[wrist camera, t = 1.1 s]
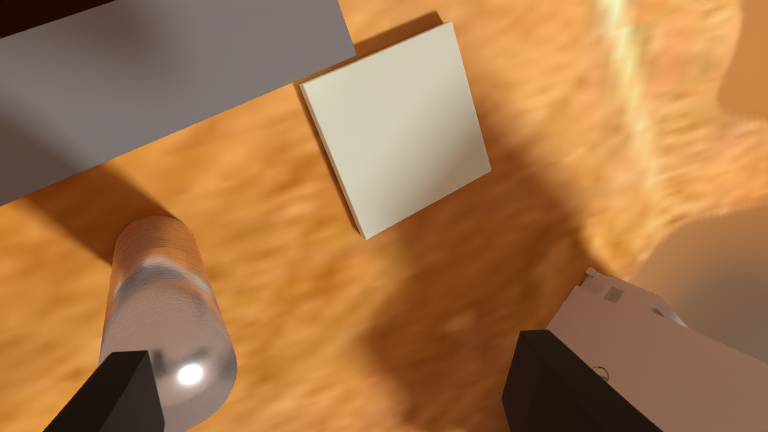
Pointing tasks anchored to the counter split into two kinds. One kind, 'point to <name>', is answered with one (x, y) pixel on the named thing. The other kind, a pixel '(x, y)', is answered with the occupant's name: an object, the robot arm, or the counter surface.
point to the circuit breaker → (661, 359)
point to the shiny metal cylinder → (169, 319)
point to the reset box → (146, 76)
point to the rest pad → (399, 128)
